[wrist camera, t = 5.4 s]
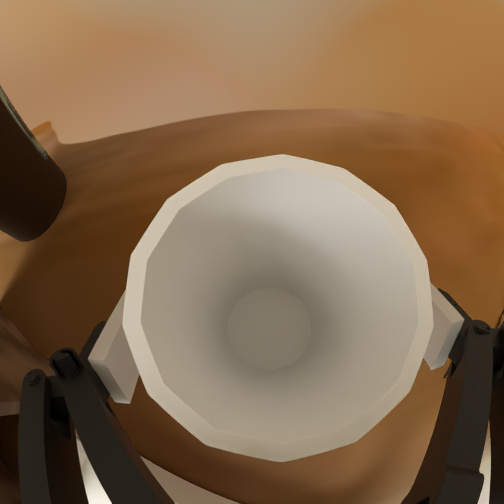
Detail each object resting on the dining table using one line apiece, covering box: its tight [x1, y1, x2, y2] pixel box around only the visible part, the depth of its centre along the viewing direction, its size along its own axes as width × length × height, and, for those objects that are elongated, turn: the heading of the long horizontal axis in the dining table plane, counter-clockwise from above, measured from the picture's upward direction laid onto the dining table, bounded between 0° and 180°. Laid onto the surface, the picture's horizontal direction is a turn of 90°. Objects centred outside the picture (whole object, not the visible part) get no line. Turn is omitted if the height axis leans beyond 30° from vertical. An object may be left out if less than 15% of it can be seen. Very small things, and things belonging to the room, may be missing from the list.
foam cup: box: [122, 154, 434, 462], centre depth 14 cm, size 10×9×13 cm
